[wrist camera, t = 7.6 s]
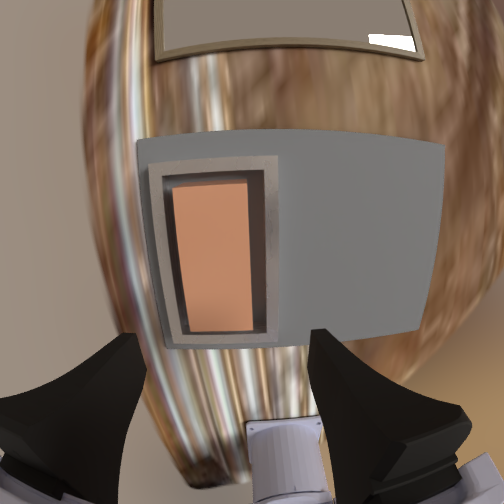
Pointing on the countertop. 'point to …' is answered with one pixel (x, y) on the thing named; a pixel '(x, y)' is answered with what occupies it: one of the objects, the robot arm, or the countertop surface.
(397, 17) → the framed mirror
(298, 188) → the mat
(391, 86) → the countertop surface
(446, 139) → the countertop surface
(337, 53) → the countertop surface
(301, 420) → the robot arm
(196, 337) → the tray frame
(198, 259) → the tall peach block
